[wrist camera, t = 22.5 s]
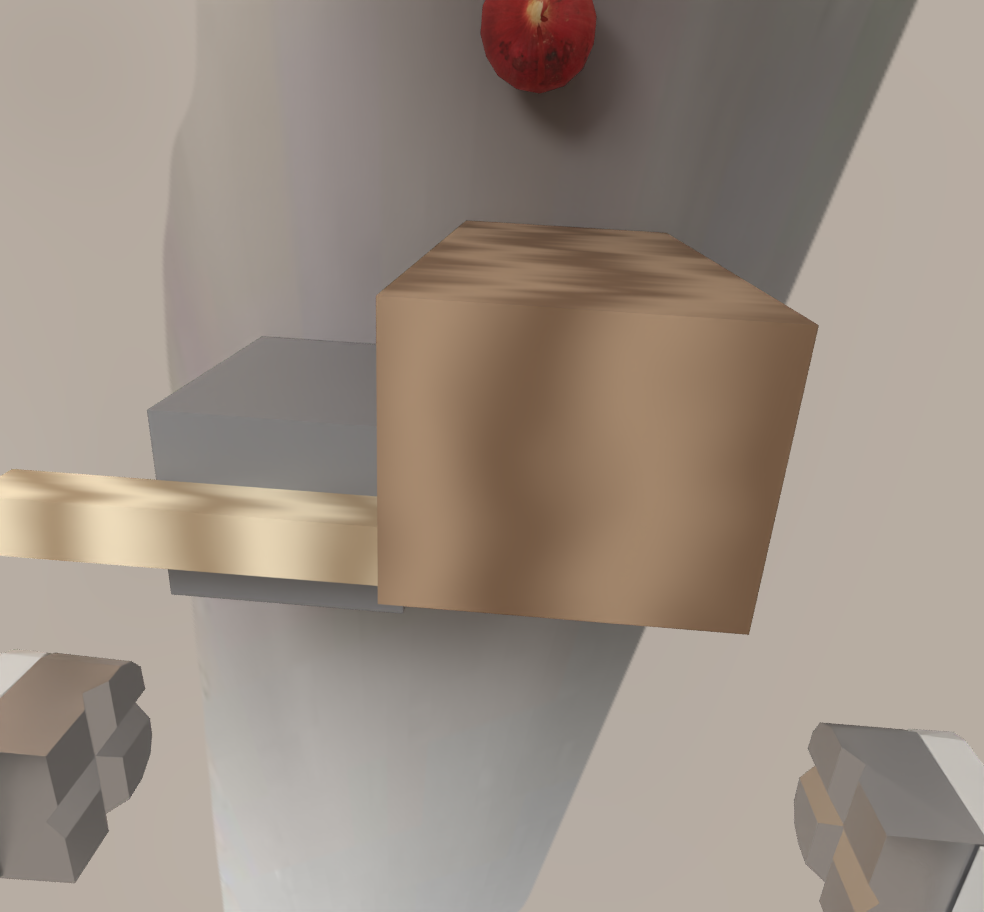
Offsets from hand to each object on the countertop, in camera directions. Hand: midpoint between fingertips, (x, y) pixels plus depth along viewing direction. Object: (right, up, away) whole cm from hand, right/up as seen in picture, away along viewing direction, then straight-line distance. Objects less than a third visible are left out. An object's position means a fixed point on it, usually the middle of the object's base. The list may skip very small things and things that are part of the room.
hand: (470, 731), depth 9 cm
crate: (-9, +6, +40) cm, 42 cm away
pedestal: (+4, +12, +37) cm, 39 cm away
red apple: (+3, +26, +32) cm, 41 cm away
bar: (-13, +1, +27) cm, 30 cm away
